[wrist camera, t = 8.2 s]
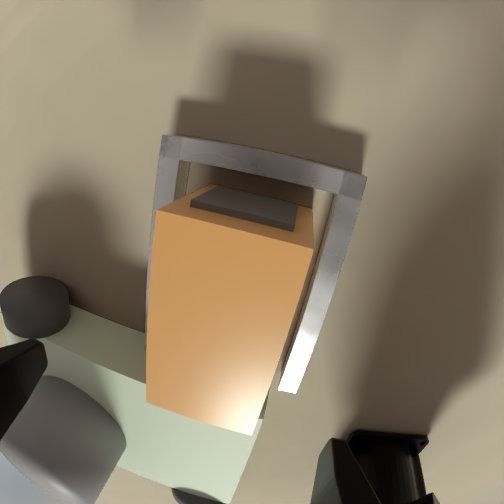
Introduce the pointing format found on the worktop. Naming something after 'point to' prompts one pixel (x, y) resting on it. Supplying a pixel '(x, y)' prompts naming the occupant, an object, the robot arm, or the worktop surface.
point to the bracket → (287, 169)
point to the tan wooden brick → (223, 301)
